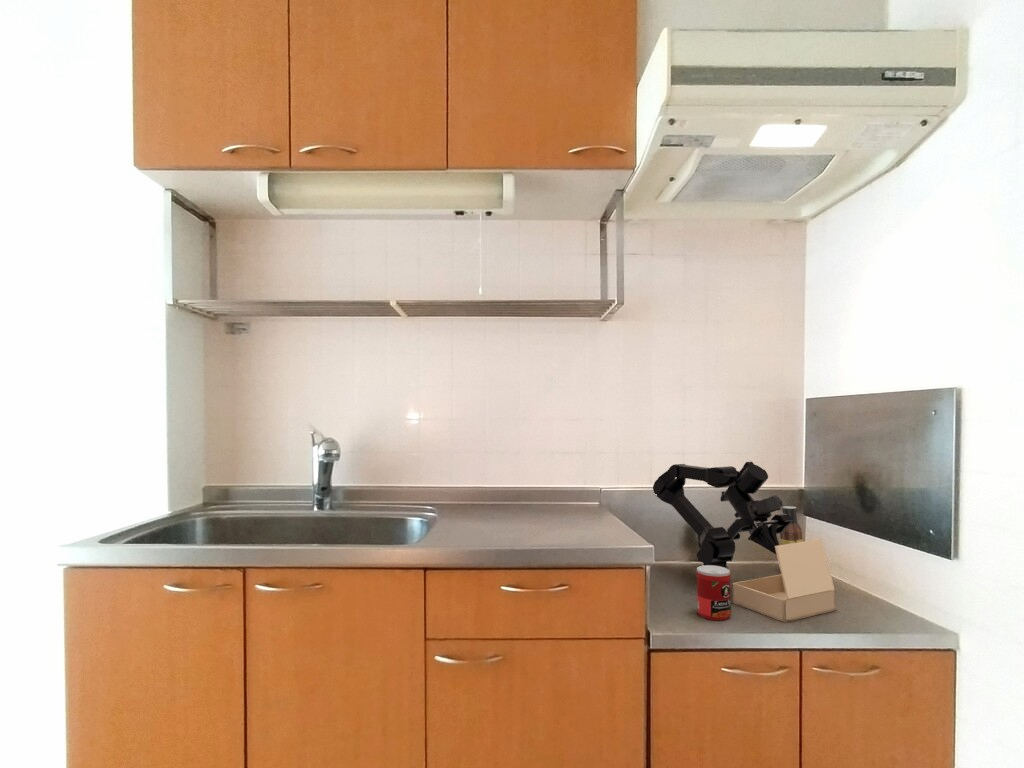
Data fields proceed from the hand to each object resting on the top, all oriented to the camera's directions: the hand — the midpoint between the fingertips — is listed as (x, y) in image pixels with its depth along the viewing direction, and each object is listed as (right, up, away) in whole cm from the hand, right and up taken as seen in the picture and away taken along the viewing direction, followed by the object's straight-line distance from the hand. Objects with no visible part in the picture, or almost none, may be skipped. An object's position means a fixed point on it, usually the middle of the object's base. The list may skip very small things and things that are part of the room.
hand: (779, 554), depth 152 cm
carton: (0, -13, -1) cm, 13 cm away
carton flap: (+3, -2, -6) cm, 7 cm away
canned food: (-19, -13, -7) cm, 24 cm away
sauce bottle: (+17, -14, +29) cm, 37 cm away
